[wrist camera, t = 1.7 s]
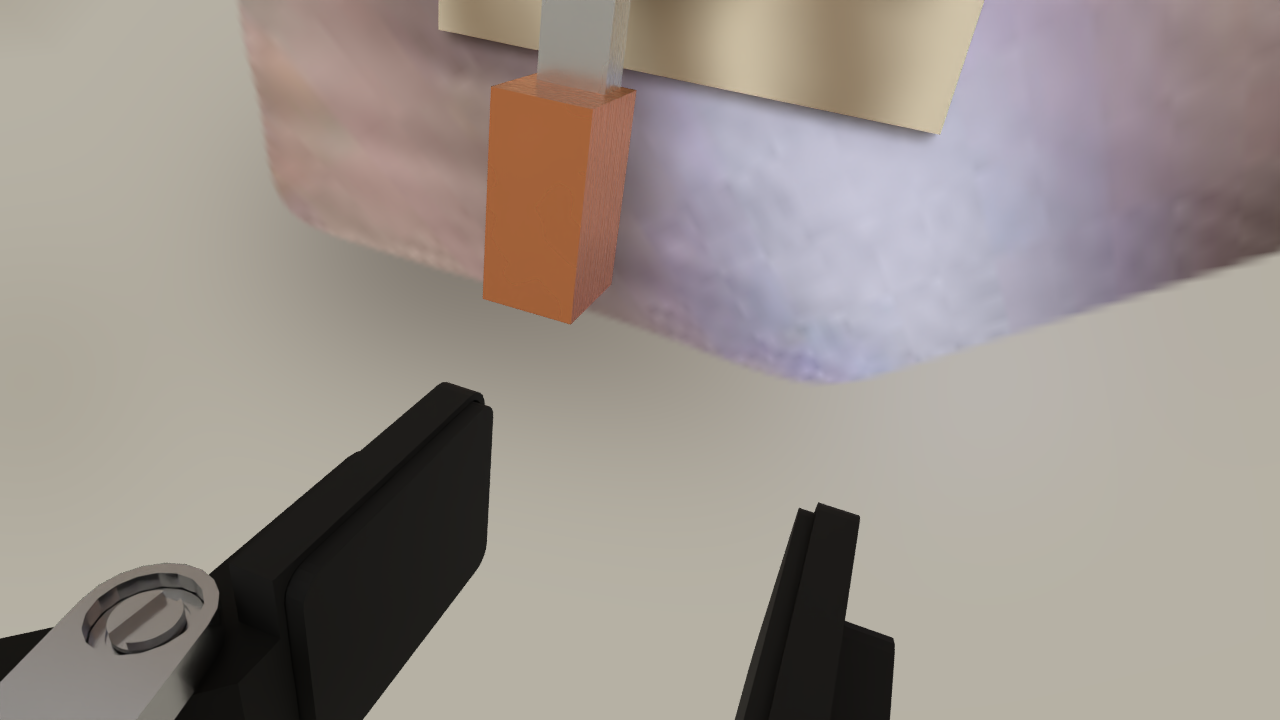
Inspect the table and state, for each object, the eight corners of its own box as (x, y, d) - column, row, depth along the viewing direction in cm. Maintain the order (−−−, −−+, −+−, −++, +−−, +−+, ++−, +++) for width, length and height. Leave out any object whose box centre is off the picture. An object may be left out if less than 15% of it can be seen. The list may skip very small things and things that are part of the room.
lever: (565, -317, 18) (499, -364, 15) (696, -304, 17) (651, -352, 15) (526, 260, 25) (476, 297, 23) (617, 285, 25) (577, 326, 22)
